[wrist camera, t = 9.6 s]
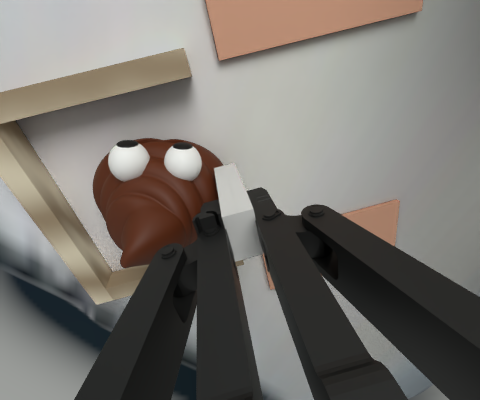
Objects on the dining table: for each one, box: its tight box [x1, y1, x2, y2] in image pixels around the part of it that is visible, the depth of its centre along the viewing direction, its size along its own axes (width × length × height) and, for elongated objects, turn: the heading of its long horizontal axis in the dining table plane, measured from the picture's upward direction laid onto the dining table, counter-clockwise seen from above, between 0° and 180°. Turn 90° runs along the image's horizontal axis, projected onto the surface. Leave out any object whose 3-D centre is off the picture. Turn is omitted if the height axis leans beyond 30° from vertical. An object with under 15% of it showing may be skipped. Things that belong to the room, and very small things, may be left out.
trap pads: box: [205, 0, 423, 290], centre depth 20 cm, size 29×14×1 cm, turn 12°
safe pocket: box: [0, 48, 244, 305], centre depth 19 cm, size 17×14×2 cm
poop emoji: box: [93, 138, 224, 268], centre depth 16 cm, size 10×8×9 cm
